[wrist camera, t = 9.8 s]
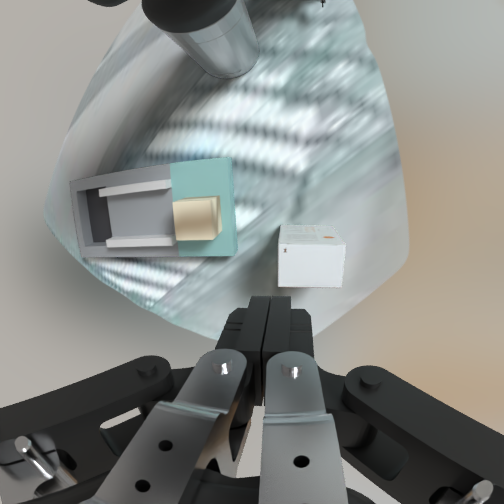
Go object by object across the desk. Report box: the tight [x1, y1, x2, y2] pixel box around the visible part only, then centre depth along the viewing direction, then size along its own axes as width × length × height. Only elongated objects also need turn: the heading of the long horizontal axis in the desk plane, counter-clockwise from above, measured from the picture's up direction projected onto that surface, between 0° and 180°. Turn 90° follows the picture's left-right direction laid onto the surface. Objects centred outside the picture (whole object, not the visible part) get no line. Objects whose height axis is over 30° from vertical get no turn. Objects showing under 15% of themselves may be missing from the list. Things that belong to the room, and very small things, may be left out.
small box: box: [278, 225, 346, 288], centre depth 37 cm, size 8×6×10 cm
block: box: [172, 196, 222, 240], centre depth 38 cm, size 5×5×5 cm
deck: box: [70, 157, 238, 257], centre depth 42 cm, size 14×29×5 cm, turn 93°
